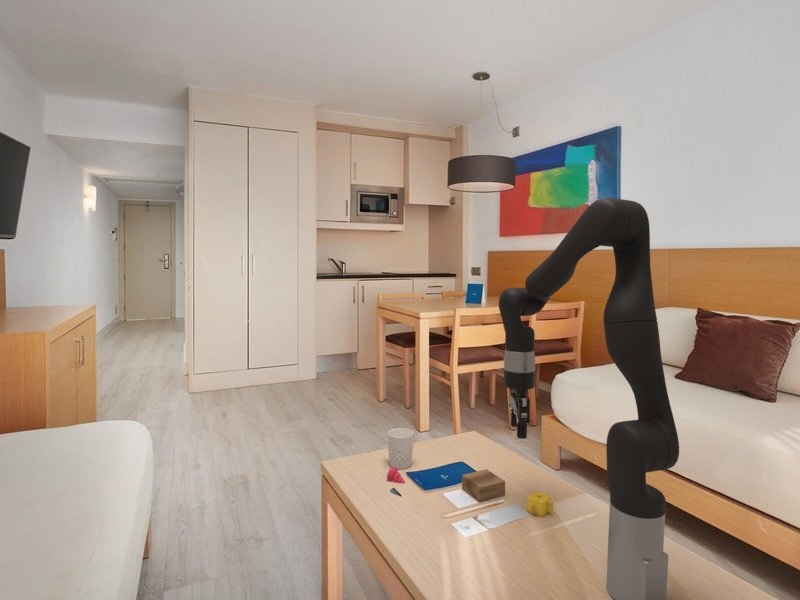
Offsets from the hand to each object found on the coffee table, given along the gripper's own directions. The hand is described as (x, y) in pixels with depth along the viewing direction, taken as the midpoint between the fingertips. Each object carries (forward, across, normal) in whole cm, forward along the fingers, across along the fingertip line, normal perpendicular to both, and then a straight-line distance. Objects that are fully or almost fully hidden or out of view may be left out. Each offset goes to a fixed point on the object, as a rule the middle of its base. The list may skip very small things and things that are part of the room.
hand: (518, 432), depth 121 cm
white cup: (+19, +23, +31) cm, 43 cm away
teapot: (+20, -3, -5) cm, 21 cm away
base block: (+18, +5, +8) cm, 21 cm away
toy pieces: (+20, +9, +29) cm, 36 cm away
